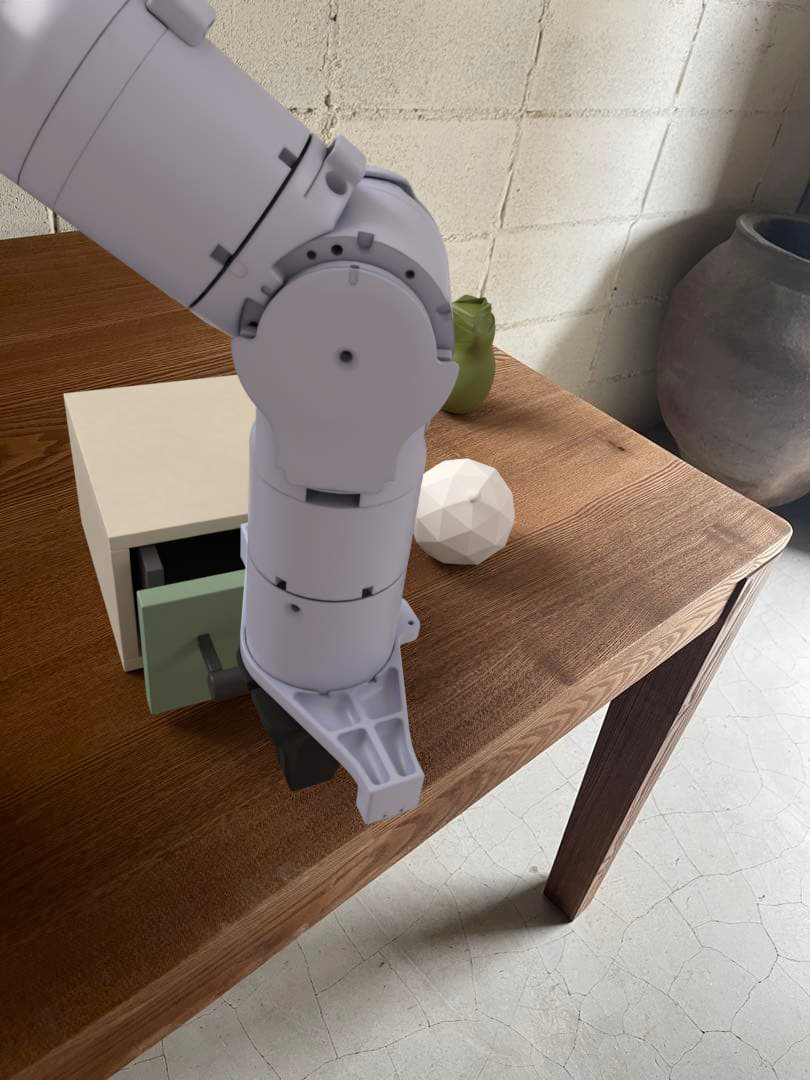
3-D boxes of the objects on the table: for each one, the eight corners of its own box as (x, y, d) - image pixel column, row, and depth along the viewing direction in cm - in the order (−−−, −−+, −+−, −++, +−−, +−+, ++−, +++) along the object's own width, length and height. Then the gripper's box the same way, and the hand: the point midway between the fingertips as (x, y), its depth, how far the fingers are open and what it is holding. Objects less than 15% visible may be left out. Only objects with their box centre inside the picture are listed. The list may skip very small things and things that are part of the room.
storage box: (323, 625, 53) (335, 498, 46) (124, 672, 48) (108, 537, 42) (254, 493, 62) (256, 372, 55) (81, 522, 57) (63, 393, 51)
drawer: (367, 718, 46) (384, 614, 41) (169, 776, 42) (161, 668, 37) (270, 530, 57) (274, 430, 52) (105, 561, 53) (92, 455, 48)
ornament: (519, 537, 62) (554, 510, 54) (436, 594, 60) (460, 574, 52) (463, 458, 62) (490, 419, 54) (379, 511, 60) (394, 479, 53)
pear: (497, 414, 74) (522, 306, 68) (454, 431, 71) (476, 320, 65) (452, 385, 77) (472, 279, 71) (409, 401, 74) (426, 291, 68)
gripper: (530, 666, 27) (458, 884, 36) (354, 423, 37) (331, 641, 45) (321, 726, 24) (297, 947, 33) (190, 445, 34) (198, 674, 43)
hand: (307, 773), depth 39 cm, fingers closed
